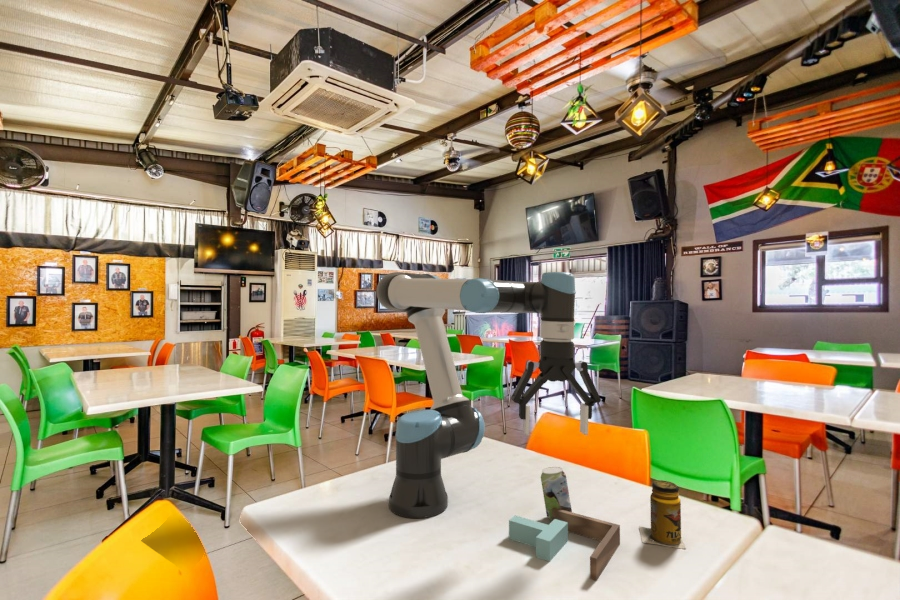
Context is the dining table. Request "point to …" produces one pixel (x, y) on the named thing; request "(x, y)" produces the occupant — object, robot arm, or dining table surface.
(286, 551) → the dining table surface
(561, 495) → the beverage can
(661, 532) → the condiment
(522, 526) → the t block
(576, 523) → the corner fence
